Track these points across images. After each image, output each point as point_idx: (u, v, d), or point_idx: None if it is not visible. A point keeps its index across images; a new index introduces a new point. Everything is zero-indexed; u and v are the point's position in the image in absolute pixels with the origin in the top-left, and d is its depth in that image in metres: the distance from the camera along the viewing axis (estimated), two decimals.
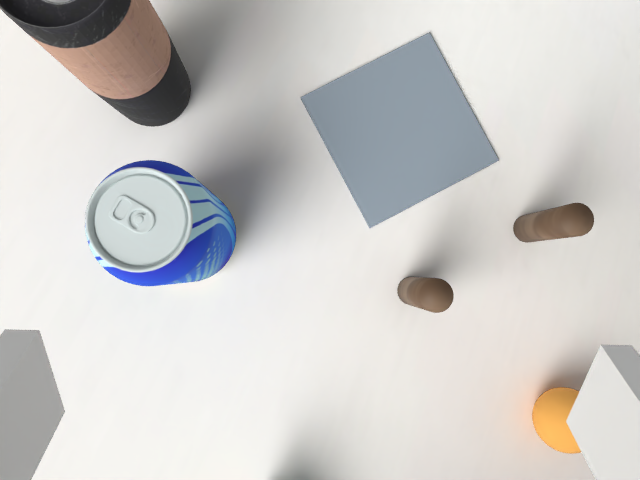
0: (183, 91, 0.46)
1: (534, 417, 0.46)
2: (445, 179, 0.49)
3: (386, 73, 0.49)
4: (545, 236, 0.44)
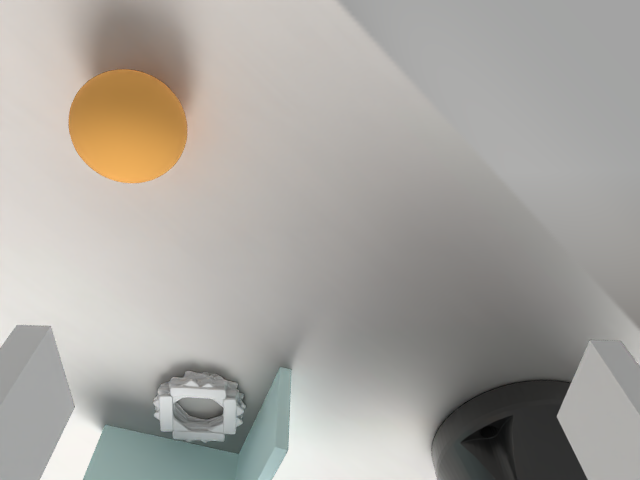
0: None
1: None
2: None
3: None
4: None
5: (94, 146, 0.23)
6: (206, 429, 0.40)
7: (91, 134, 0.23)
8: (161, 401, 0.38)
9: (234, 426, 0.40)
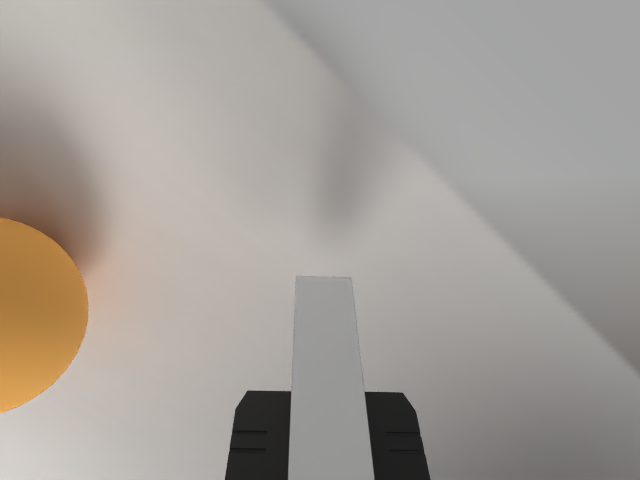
0: None
1: None
2: None
3: None
4: None
5: None
6: None
7: None
8: None
9: None
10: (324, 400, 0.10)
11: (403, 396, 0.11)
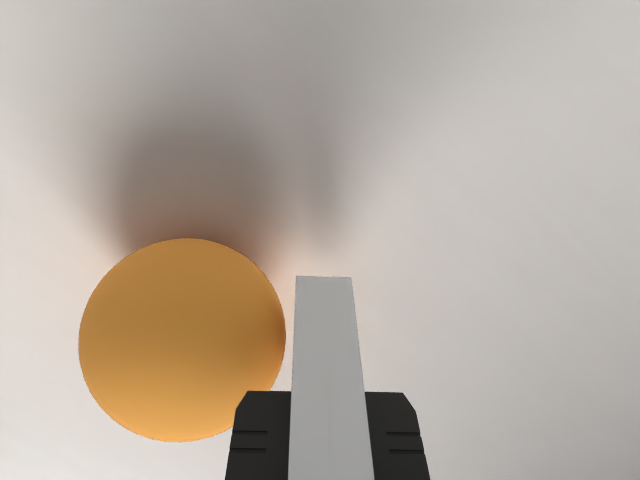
0: None
1: None
2: None
3: None
4: None
5: None
6: None
7: None
8: None
9: None
10: (324, 400, 0.10)
11: (403, 396, 0.11)
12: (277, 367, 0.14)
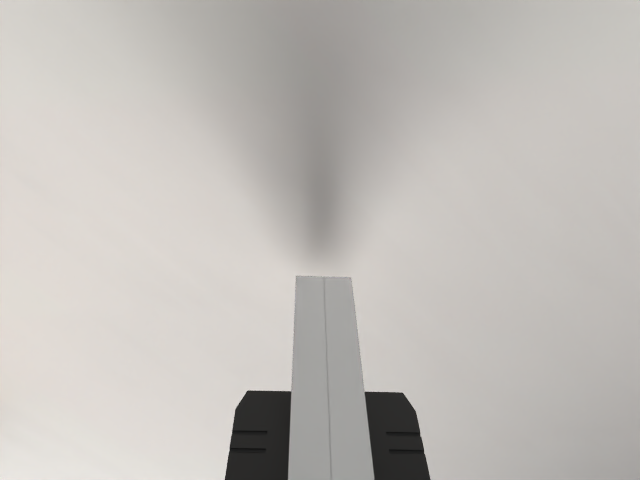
0: None
1: None
2: None
3: None
4: None
5: None
6: None
7: None
8: None
9: None
10: (324, 400, 0.10)
11: (403, 396, 0.11)
12: None
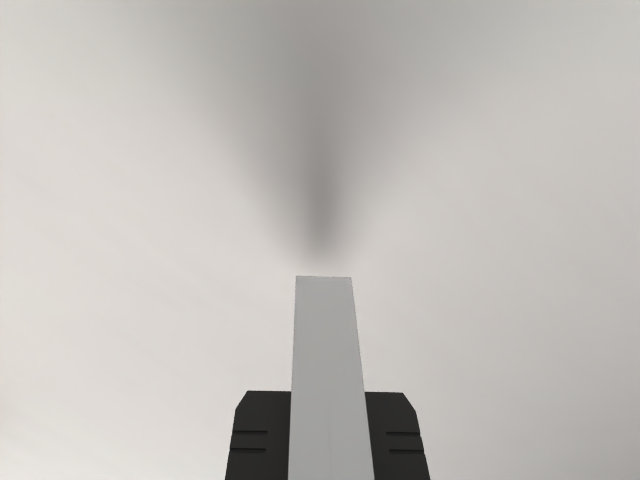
0: None
1: None
2: None
3: None
4: None
5: None
6: None
7: None
8: None
9: None
10: (324, 400, 0.10)
11: (403, 396, 0.11)
12: None
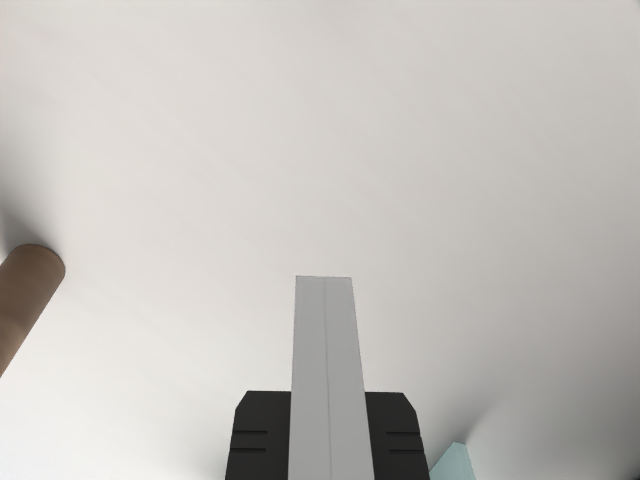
0: None
1: None
2: None
3: None
4: None
5: None
6: None
7: None
8: None
9: None
10: (324, 400, 0.10)
11: (403, 396, 0.11)
12: None
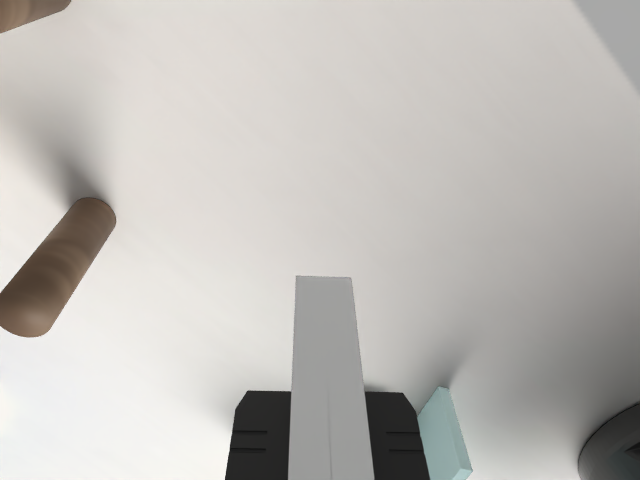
0: None
1: None
2: None
3: None
4: (10, 28, 0.20)
5: None
6: None
7: None
8: None
9: None
10: (324, 400, 0.10)
11: (403, 396, 0.11)
12: None
